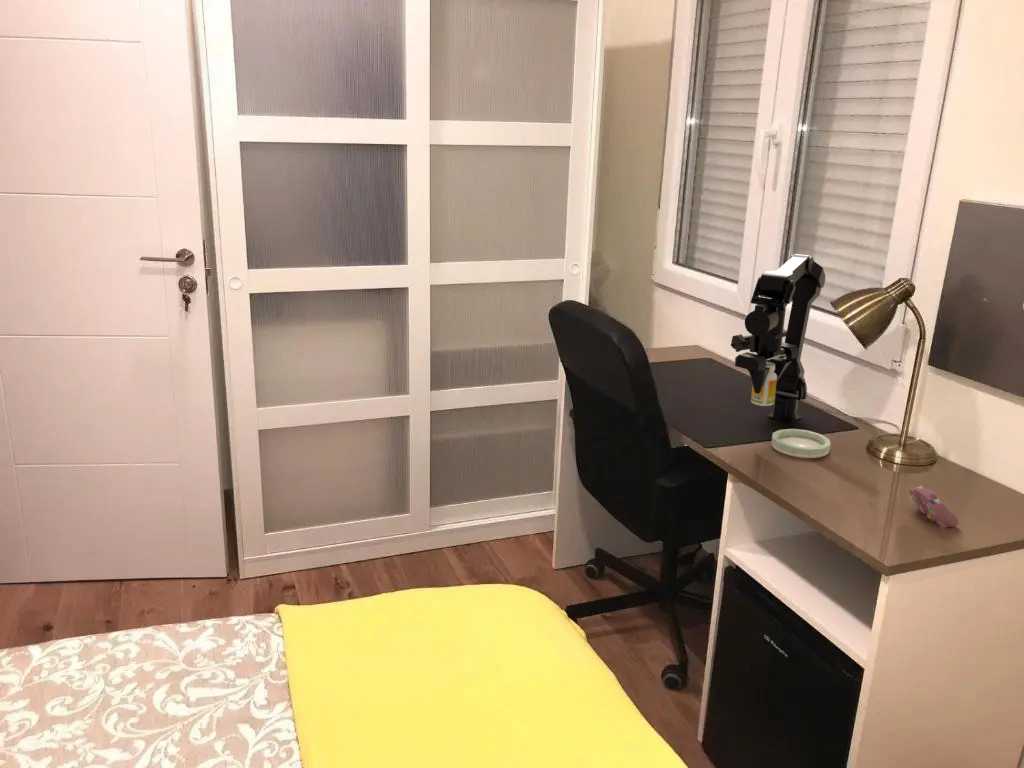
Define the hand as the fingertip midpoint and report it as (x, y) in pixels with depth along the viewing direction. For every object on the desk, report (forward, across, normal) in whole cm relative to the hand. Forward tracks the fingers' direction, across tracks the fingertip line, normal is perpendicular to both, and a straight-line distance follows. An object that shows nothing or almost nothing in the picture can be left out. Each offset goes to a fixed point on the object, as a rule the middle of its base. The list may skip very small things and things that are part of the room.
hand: (763, 390), depth 196 cm
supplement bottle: (+3, 0, 0) cm, 3 cm away
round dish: (+13, -4, +9) cm, 16 cm away
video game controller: (+13, +10, +45) cm, 48 cm away
